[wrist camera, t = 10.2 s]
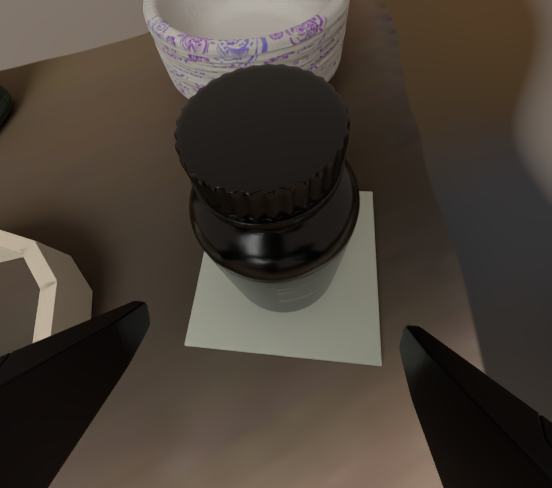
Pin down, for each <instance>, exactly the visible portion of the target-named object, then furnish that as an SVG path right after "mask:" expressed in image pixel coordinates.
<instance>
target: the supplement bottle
mask: <svg viewBox="0 0 552 488" xmlns="http://www.w3.org/2000/svg"><path fill="white" fill-rule="evenodd" d="M347 111H348V110H347V106H346V104H345V103H344V102H343V101H342V95H341V94H340V93H338V92H337V91H336V90H335V87H334V85H332V84H330V83H328V82H326V81H325V79H324V78H323V77H321V76H318V75H315V74H314V73H313V72H312V71H309V70H303V69H301V68H300V67H298V66H288V65H285V64H278V65H273V64H264V65H252V66H249V67H246V68H238V69H236V70H234V71H232V72H229V73H224V74H223V75H221V76H220V77H219V78H216V79H213V80H211V81H210V82H209V83H208V84H207V85H206V86H204V87H202V88H200V89H199V90H198V91H197V93H196V94H195V95H194V96H192V97H191V98H189V100H188V103H187V105H186V106H185V107H184V108H183V109H181V116H180V117H179V118H178V120H177V121H176V124H177V128H176V130H175V133H174V136H175V139H176V144H175V148H176V151H177V153H178V155H179V159H180V162H181V165H182V166H183V168H184V170H185V171H186V173H187V175H188V176H189V178H190V180H191V183H192V189H191V194H190V202H189V214H190V221H191V225H192V228H193V231H194V234H195V236H196V238H197V240H198V242H199V244H200V245H201V247H202V248H203V249H204V251H205V252H206V253H207V255H208V256H209V257H210V258H211V259H212V260H213V262H214V263H215V264H216V265H217V266H218V267H219V268H220V269H221V270H222V271H223V272H224V274H225V275H226V276H227V277H228V278H229V279H230V280H231V281H232V282H233V283H234V284H235V286H236V287H237V288H238V289H239V290H240V291H241V292H242V293H243V294H244V295H245V296H246V297H247V298H248V299H249V300H250V301H251V302H253V303H254V304H256V305H257V306H259V307H261V308H263V309H266V310H269V311H273V312H280V313H286V312H294V311H298V310H301V309H304V308H306V307H308V306H310V305H312V304H313V303H315V302H316V301H317V300H318V299H319V298H320V297H321V296H322V295H323V294H324V293H325V292H326V291H327V289H328V287H329V286H330V284H331V282H332V280H333V278H334V276H335V273H336V271H337V269H338V266H339V264H340V262H341V260H342V257H343V255H344V253H345V250H346V248H347V246H348V244H349V241H350V239H351V237H352V234H353V232H354V229H355V226H356V223H357V219H358V215H359V209H360V194H359V188H358V183H357V180H356V177H355V175H354V172H353V170H352V168H351V166H350V165H349V163H348V162H347V160H346V159H345V152H346V148H347V143H348V137H349V134H348V131H349V126H350V119H349V117H348V115H347Z"/></svg>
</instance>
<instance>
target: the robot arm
mask: <svg viewBox="0 0 552 488" xmlns="http://www.w3.org/2000/svg"><path fill="white" fill-rule="evenodd" d="M149 326H150V316H149V311H148V306H147V304H146V303H145V302H141V301H133V302H130V303H128V304H126V305H123V306H121V307H118V308H116V309H114V310H111V311H109V312H106V313H104V314H102V315H99V316H97V317H94V318H92V319H90V320H87V321H85V322H82V323H80V324H78V325H75V326H73V327H71V328H68V329H66V330H63V331H61V332H59V333H56V334H54V335H51V336H49V337H47V338H44V339H42V340H39V341H37V342H35V343H32V344H30V345H27V346H25V347H23V348H20V349H18V350H15V351H13V352H12V353H8V354H6V355H3V356H1V357H0V488H48V487H49V485H50V484H51V482H52V481H53V479H54V478H55V476H56V475H57V473H58V472H59V470H60V469H61V467H62V466H63V464H64V463H65V461H66V460H67V458H68V457H69V455H70V454H71V452H72V451H73V449H74V448H75V446H76V445H77V443H78V442H79V440H80V438H81V437H82V435H83V434H84V432H85V431H86V429H87V428H88V426H89V425H90V423H91V422H92V420H93V419H94V417H95V416H96V414H97V413H98V411H99V410H100V408H101V407H102V405H103V404H104V402H105V401H106V399H107V398H108V396H109V395H110V393H111V392H112V390H113V389H114V387H115V385H116V384H117V382H118V381H119V379H120V378H121V376H122V375H123V373H124V372H125V370H126V369H127V367H128V365H129V364H130V362H131V360H132V358H133V356H134V355H135V353H136V351H137V349H138V347H139V345H140V343H141V341H142V340H143V338H144V336H145V334H146V332H147V330H148V328H149ZM400 354H401V358H402V362H403V366H404V370H405V375H406V379H407V383H408V387H409V391H410V395H411V398H412V401H413V404H414V407H415V410H416V413H417V416H418V418H419V421H420V424H421V427H422V429H423V432H424V435H425V438H426V440H427V443H428V446H429V449H430V452H431V454H432V457H433V460H434V463H435V465H436V468H437V471H438V474H439V477H440V479H441V482H442V485H443V488H552V422H551V421H549V420H548V419H547V418H545V417H544V416H542V415H541V416H540V415H539V413H538V412H537V411H535V410H534V409H532V408H531V407H530V406H528V405H527V404H526V403H524V402H523V401H522V400H520V399H519V398H517V397H516V396H515V395H513V394H512V393H511V392H509V391H508V390H506V389H505V388H503V387H502V386H501V385H499V384H498V383H497V382H495V381H494V380H492V379H491V378H490V377H488V376H487V375H486V374H484V373H483V372H482V371H480V370H479V369H477V368H476V367H475V366H473V365H472V364H471V363H469V362H468V361H466V360H465V359H464V358H462V357H461V356H459V355H458V354H457V353H455V352H454V351H453V350H451V349H450V348H448V347H447V346H446V345H444V344H443V343H442V342H440V341H439V340H437V339H436V338H435V337H433V336H432V335H431V334H429V333H428V332H426V331H425V330H424V329H422V328H421V327H419V326H410V325H407V326H405V328H404V330H403V334H402V338H401V342H400Z"/></svg>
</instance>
